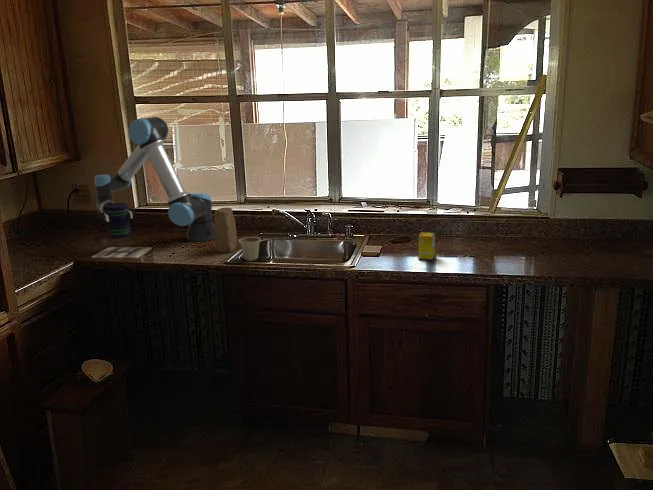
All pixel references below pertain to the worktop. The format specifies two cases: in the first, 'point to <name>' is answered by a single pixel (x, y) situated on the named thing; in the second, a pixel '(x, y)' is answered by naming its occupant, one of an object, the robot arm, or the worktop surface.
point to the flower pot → (250, 247)
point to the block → (225, 230)
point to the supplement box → (426, 246)
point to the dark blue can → (118, 220)
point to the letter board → (122, 252)
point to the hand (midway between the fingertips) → (119, 217)
